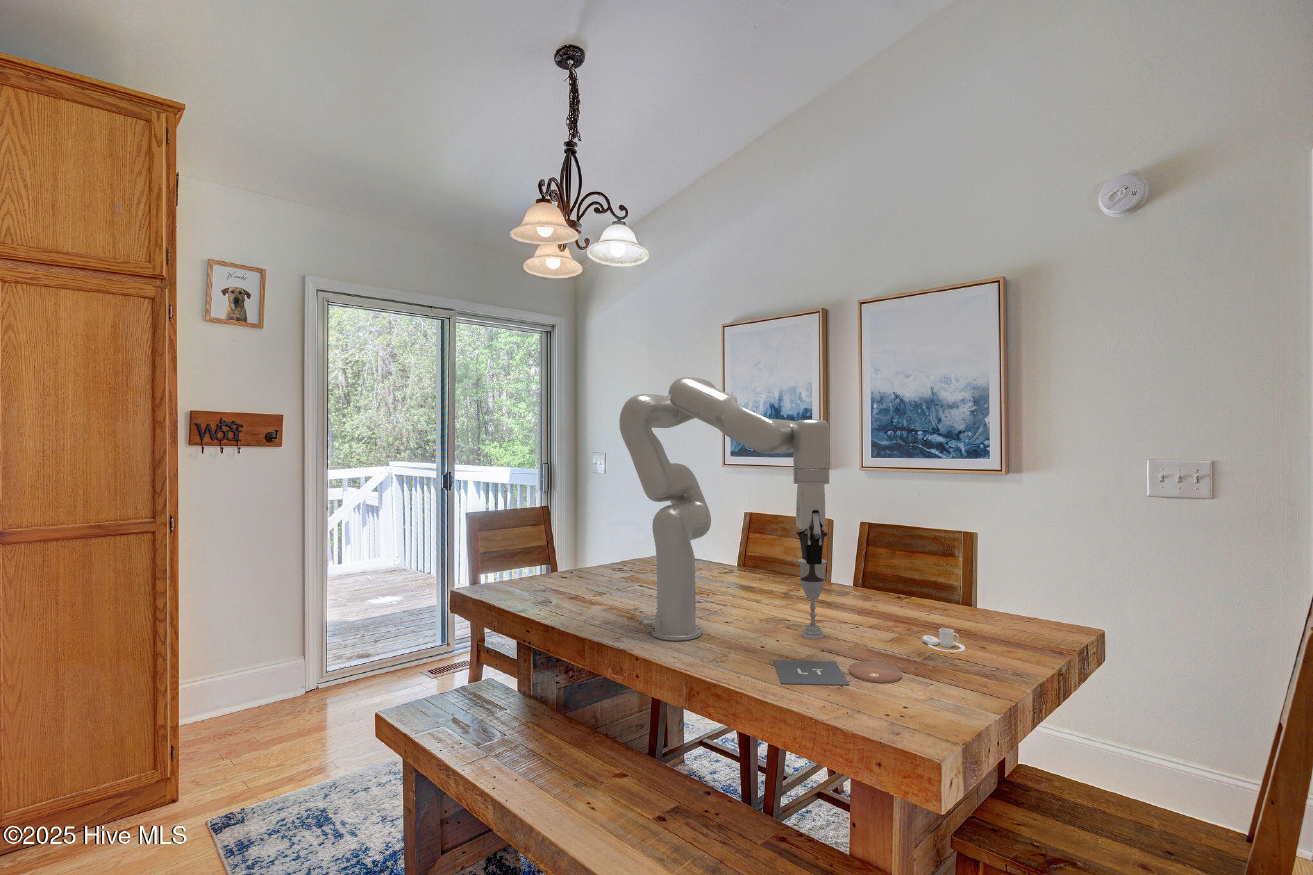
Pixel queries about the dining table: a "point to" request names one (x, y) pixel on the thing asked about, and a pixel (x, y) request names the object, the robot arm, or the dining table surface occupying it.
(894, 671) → the coaster
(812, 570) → the sundae
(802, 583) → the chalice
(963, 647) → the teacup and saucer
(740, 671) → the dining table surface
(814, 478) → the robot arm
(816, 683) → the card
